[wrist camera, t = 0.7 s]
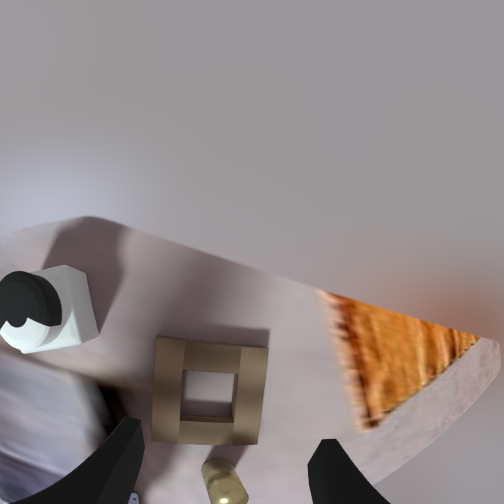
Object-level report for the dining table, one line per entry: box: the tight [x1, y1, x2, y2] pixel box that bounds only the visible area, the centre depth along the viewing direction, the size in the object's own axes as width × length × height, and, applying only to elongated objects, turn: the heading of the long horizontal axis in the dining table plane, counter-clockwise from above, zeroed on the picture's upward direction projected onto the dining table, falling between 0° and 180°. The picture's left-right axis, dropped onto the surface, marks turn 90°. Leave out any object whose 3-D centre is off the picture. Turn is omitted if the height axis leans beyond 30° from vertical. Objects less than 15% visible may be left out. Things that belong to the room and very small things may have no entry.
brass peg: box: [201, 458, 249, 504], centre depth 24 cm, size 4×4×7 cm
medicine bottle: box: [0, 265, 99, 353], centre depth 21 cm, size 7×7×12 cm
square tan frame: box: [152, 336, 268, 445], centre depth 28 cm, size 12×12×2 cm
